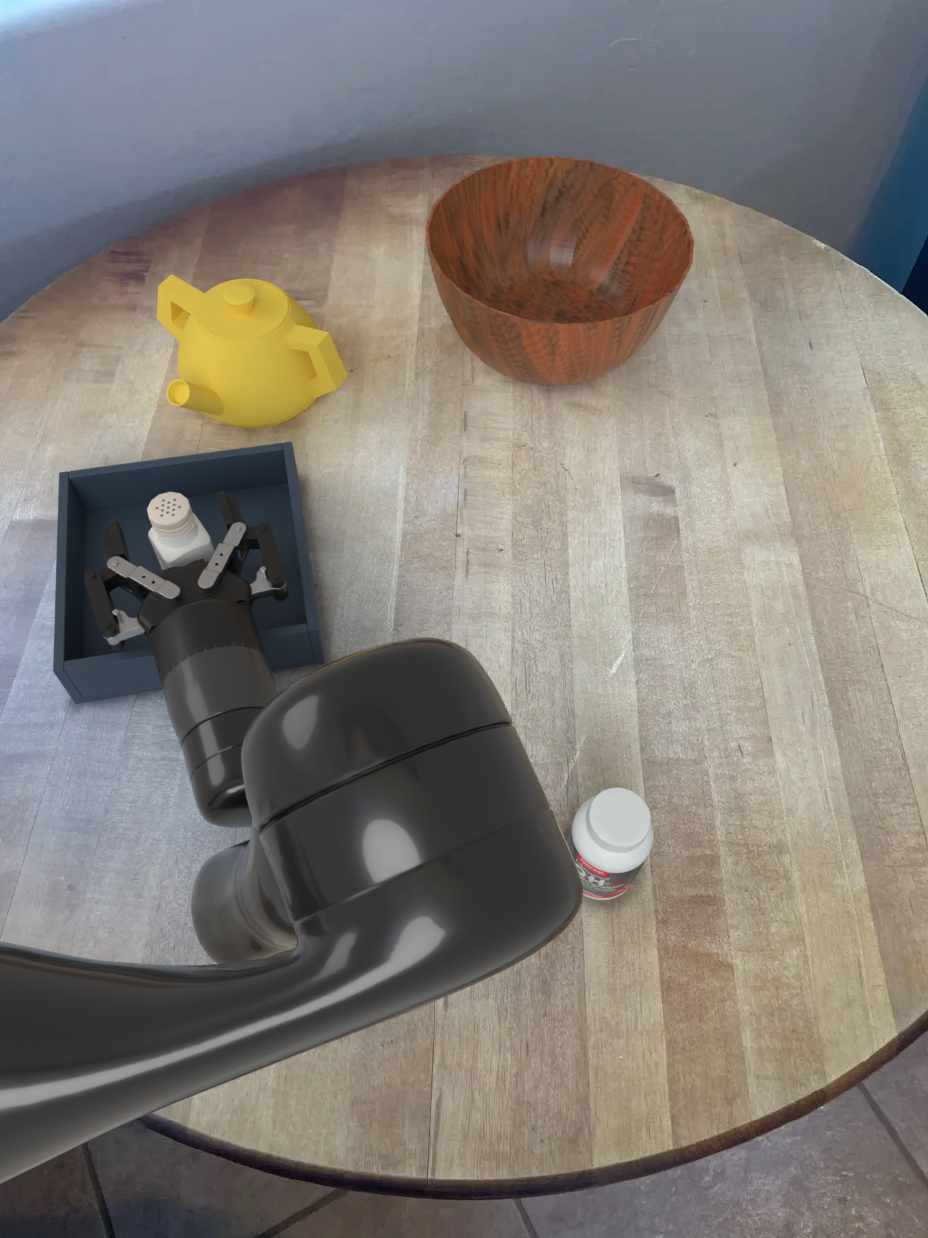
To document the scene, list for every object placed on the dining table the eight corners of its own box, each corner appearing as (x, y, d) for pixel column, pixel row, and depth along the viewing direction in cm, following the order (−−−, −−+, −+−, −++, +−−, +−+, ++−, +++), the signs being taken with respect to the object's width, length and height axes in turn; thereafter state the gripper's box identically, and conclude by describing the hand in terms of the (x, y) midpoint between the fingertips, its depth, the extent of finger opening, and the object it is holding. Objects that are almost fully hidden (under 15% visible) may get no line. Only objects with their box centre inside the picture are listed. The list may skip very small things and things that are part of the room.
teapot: (104, 426, 91) (65, 334, 81) (212, 309, 100) (189, 214, 90) (287, 499, 86) (269, 411, 77) (383, 370, 95) (377, 278, 86)
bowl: (376, 323, 99) (369, 225, 89) (547, 224, 108) (558, 126, 99) (547, 461, 89) (560, 368, 80) (719, 340, 99) (750, 243, 89)
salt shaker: (163, 574, 81) (132, 501, 73) (206, 552, 82) (180, 479, 74) (184, 606, 79) (155, 536, 71) (227, 584, 81) (204, 513, 73)
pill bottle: (561, 900, 68) (578, 854, 59) (560, 827, 70) (576, 773, 62) (638, 904, 68) (665, 858, 59) (634, 830, 70) (659, 777, 62)
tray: (74, 703, 75) (52, 671, 71) (77, 510, 85) (58, 471, 81) (325, 663, 77) (318, 629, 73) (299, 479, 88) (291, 441, 83)
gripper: (308, 622, 66) (249, 456, 74) (100, 686, 63) (61, 506, 71) (319, 675, 73) (263, 517, 81) (130, 736, 70) (91, 565, 78)
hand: (168, 512), depth 76 cm, fingers open, 8 cm apart
